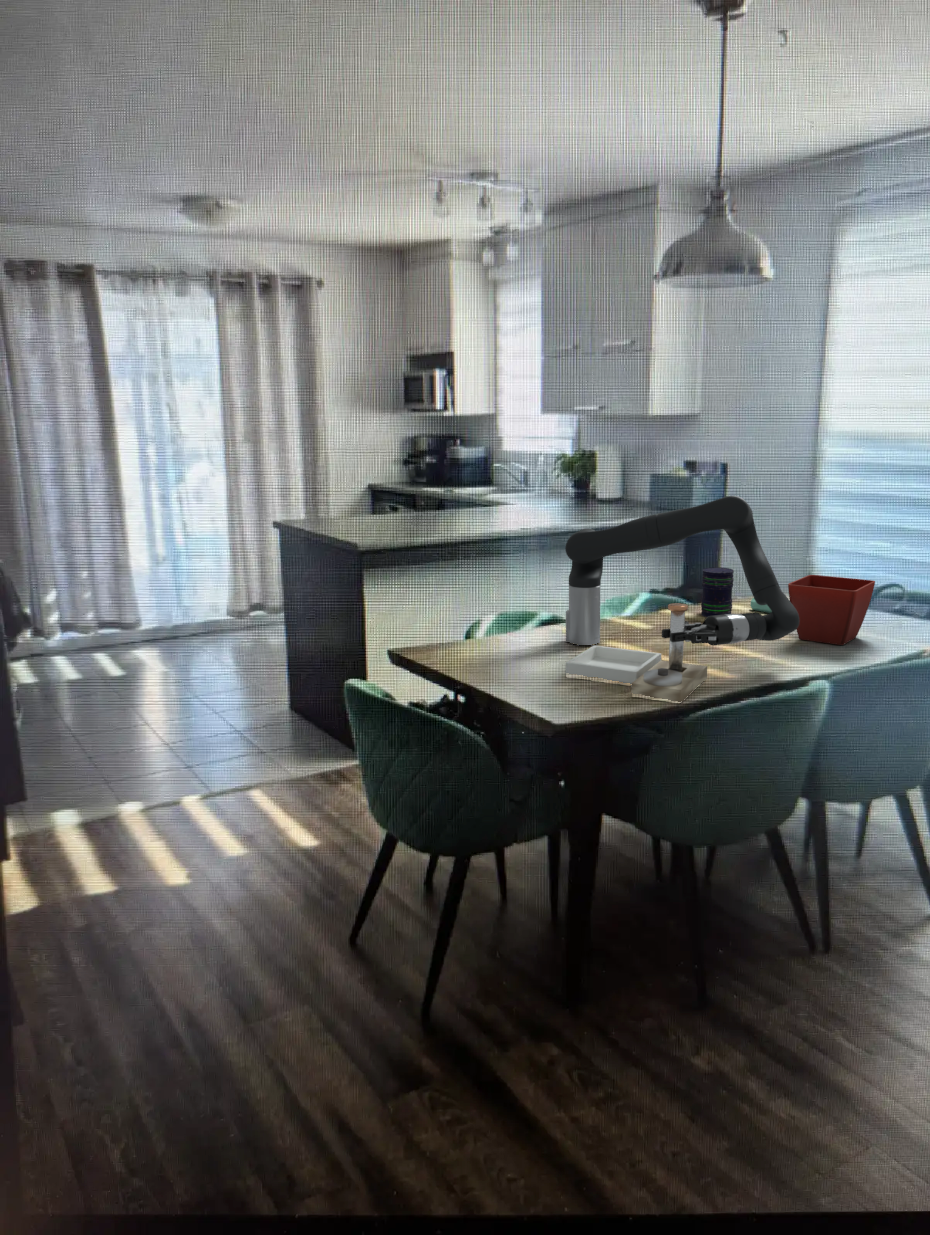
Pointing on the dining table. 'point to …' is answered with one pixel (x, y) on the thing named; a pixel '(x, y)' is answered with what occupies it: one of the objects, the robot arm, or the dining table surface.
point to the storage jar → (717, 591)
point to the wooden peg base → (669, 681)
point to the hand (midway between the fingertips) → (667, 635)
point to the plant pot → (830, 607)
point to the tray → (612, 663)
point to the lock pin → (675, 626)
